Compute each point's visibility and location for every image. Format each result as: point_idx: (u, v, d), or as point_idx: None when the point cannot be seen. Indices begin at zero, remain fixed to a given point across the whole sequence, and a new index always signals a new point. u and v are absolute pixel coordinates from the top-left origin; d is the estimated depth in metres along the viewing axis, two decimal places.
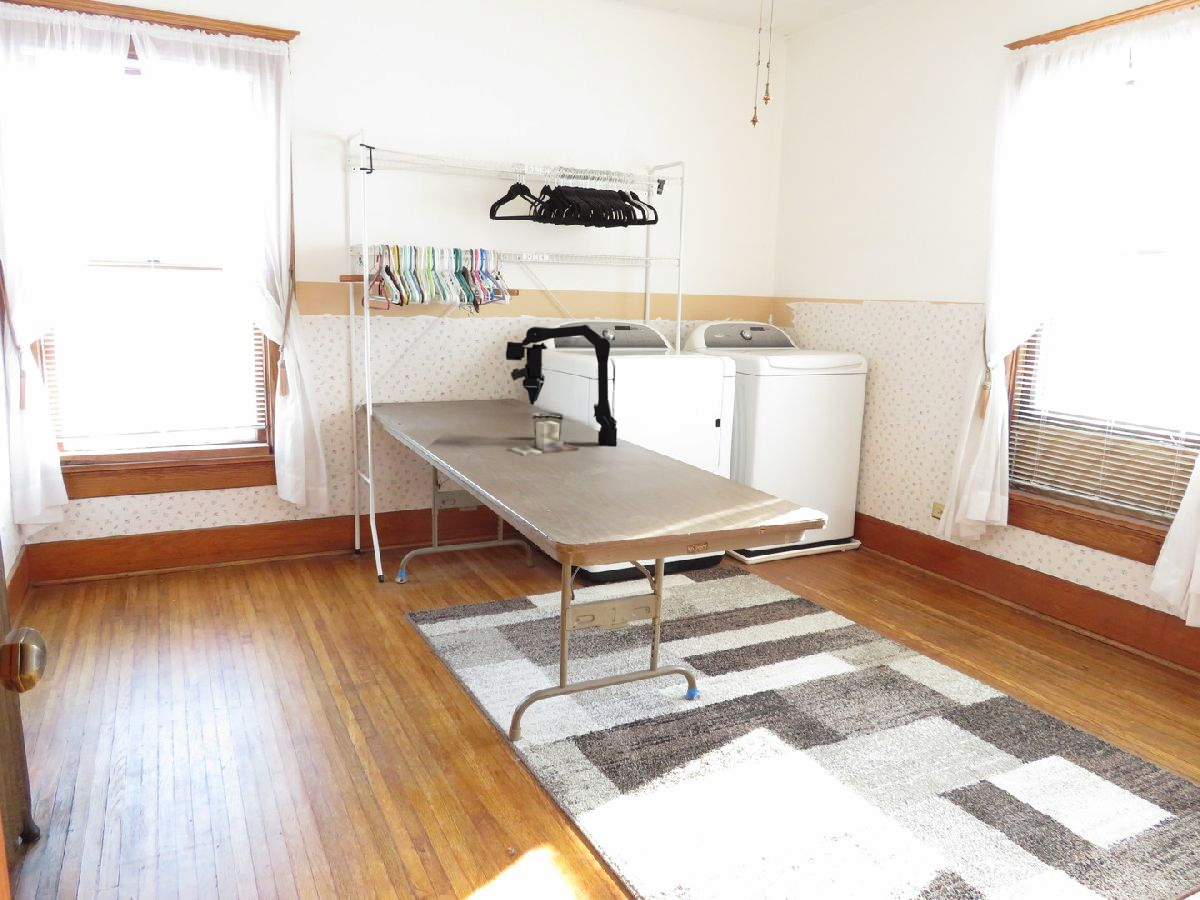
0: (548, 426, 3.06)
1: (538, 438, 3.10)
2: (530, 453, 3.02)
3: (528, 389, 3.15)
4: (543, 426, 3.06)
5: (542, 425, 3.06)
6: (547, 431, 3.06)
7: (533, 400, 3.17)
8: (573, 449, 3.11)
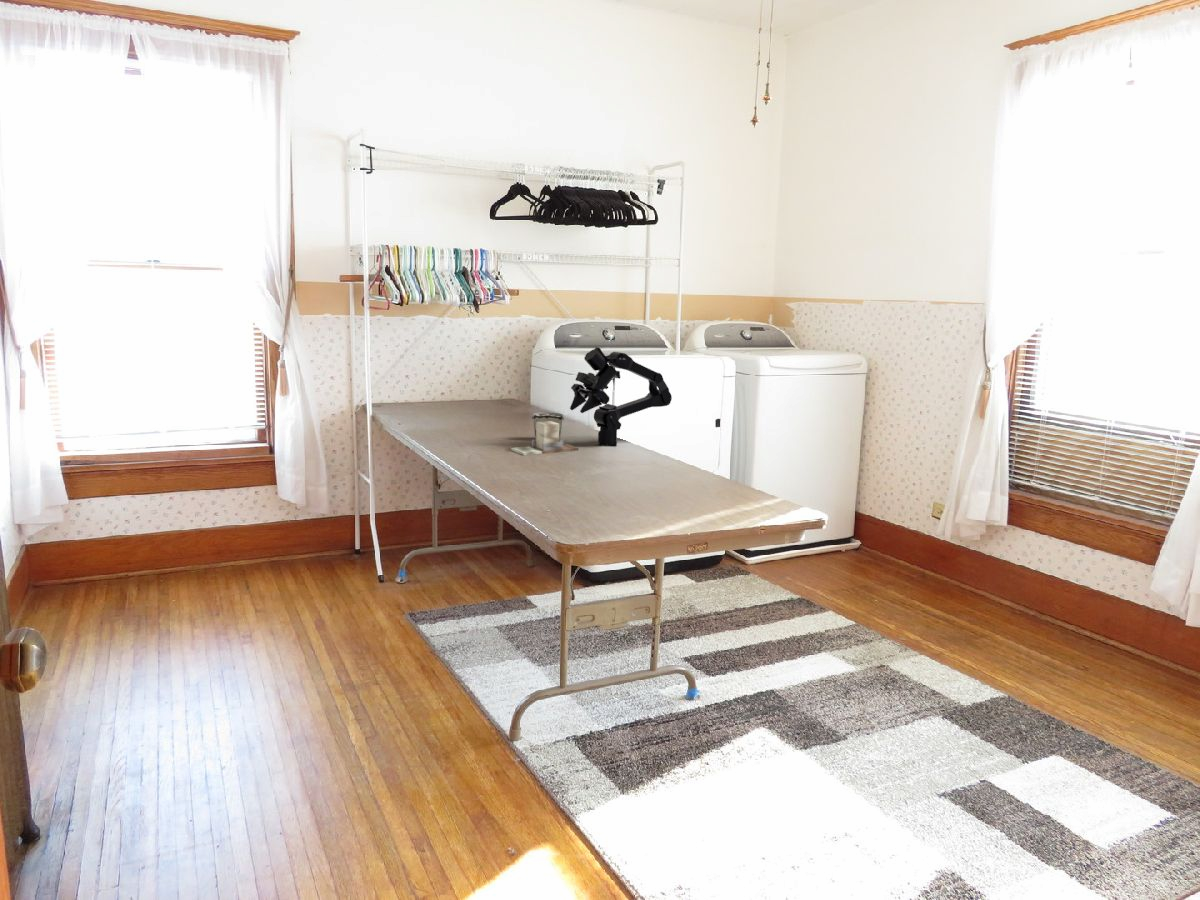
0: (548, 426, 3.06)
1: (538, 438, 3.10)
2: (530, 453, 3.02)
3: (591, 398, 3.11)
4: (543, 426, 3.06)
5: (542, 425, 3.06)
6: (547, 431, 3.06)
7: (585, 410, 3.12)
8: (573, 449, 3.11)
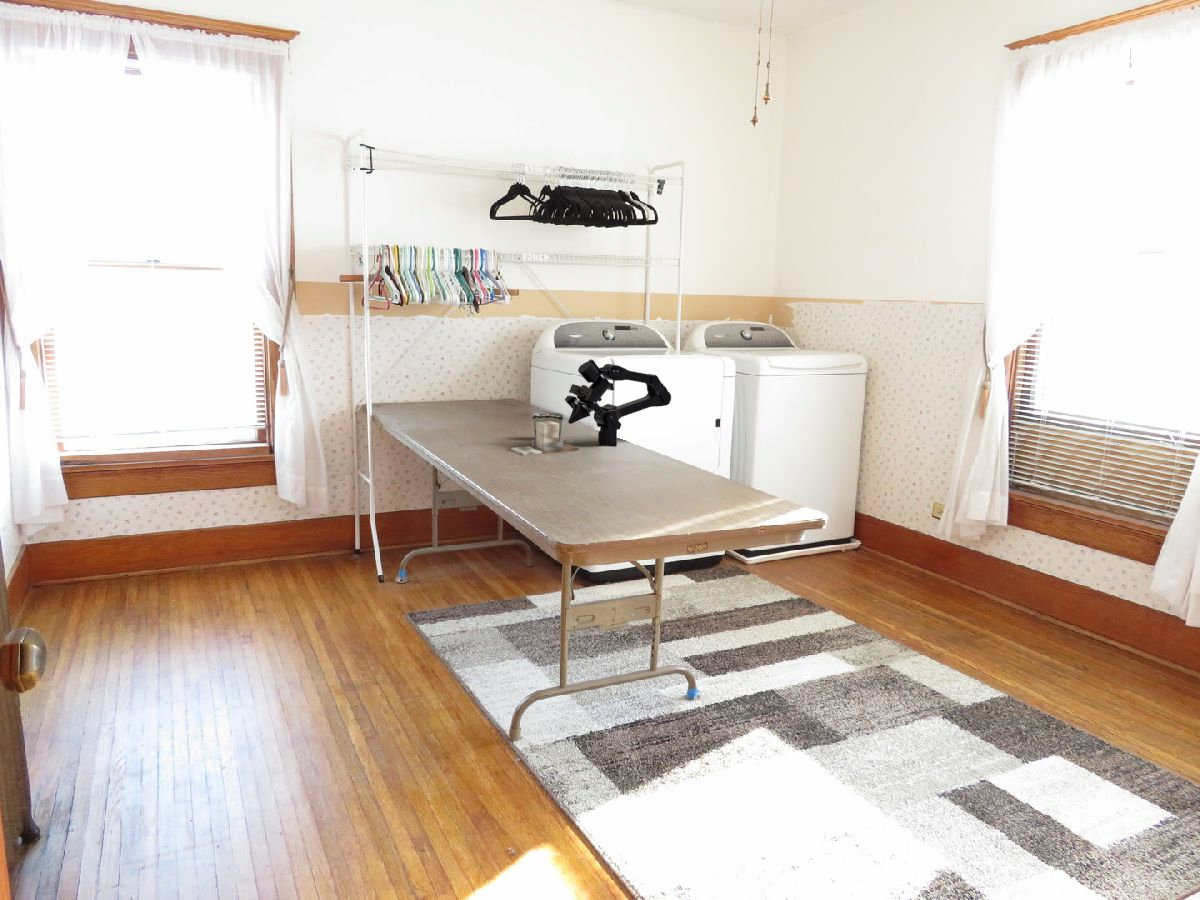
0: (548, 426, 3.06)
1: (538, 438, 3.10)
2: (530, 453, 3.02)
3: (580, 409, 3.13)
4: (543, 426, 3.06)
5: (542, 425, 3.06)
6: (547, 431, 3.06)
7: (574, 421, 3.14)
8: (573, 449, 3.11)
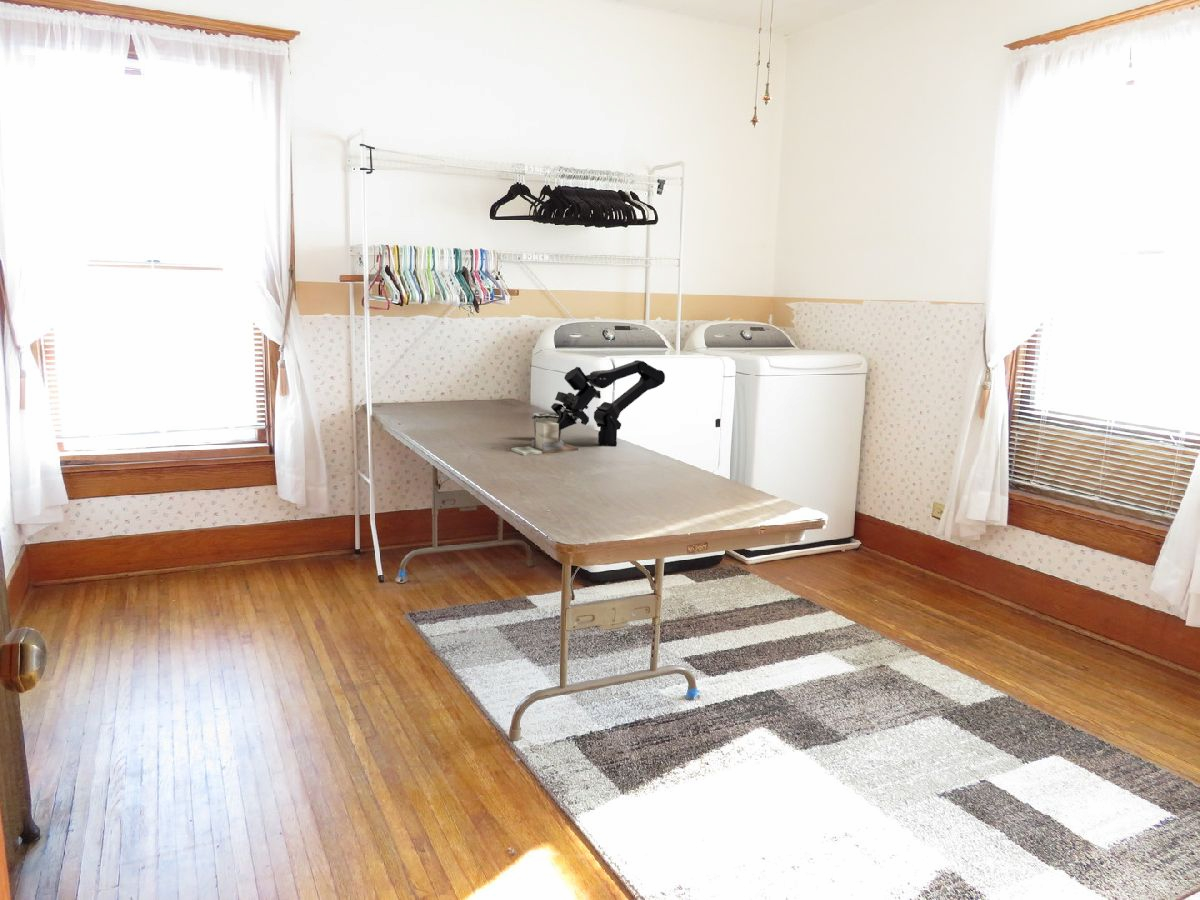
0: (547, 426, 3.06)
1: (537, 438, 3.09)
2: (530, 453, 3.02)
3: (566, 417, 3.10)
4: (542, 426, 3.06)
5: (541, 425, 3.06)
6: (546, 431, 3.06)
7: (560, 428, 3.11)
8: (573, 449, 3.11)
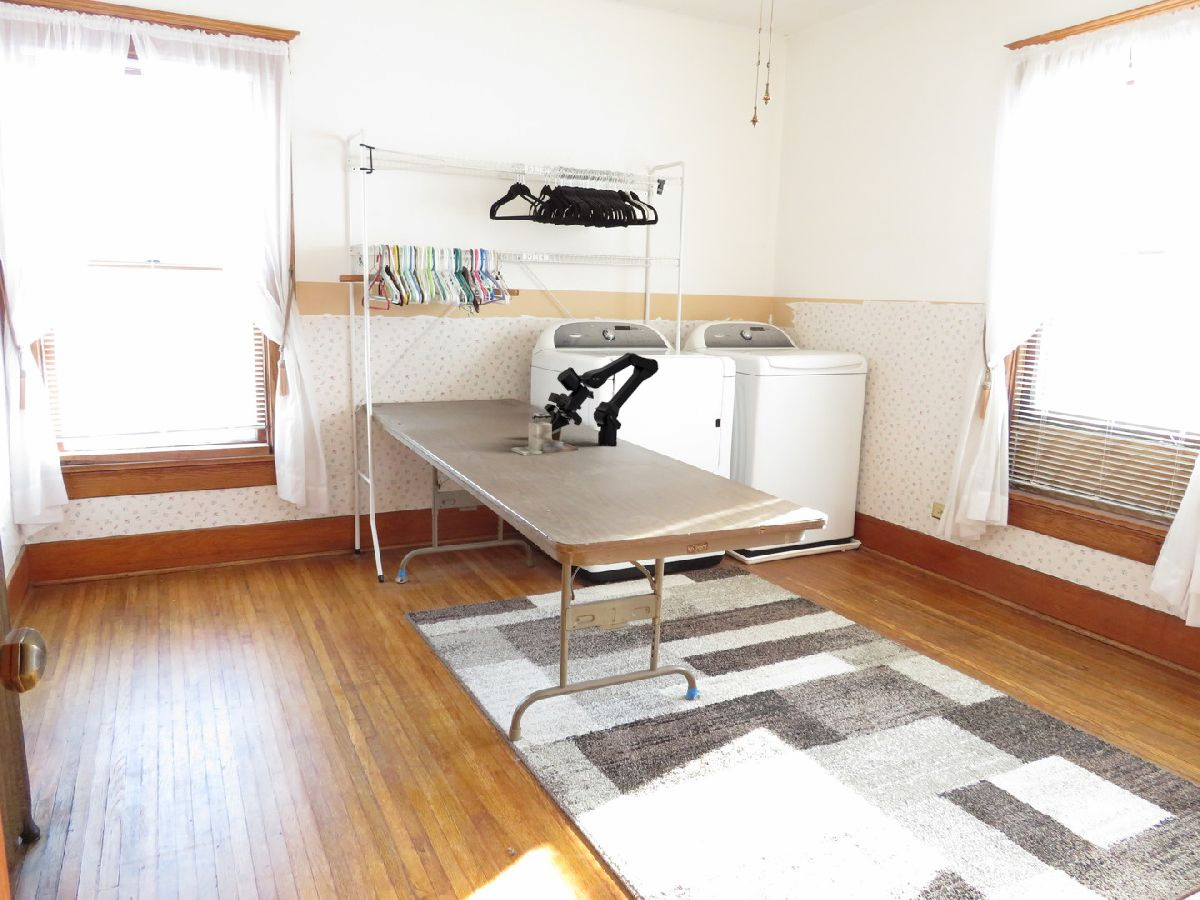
0: (540, 427, 3.04)
1: (530, 439, 3.08)
2: (530, 453, 3.02)
3: (559, 418, 3.09)
4: (535, 427, 3.04)
5: (534, 426, 3.05)
6: (539, 432, 3.04)
7: (553, 429, 3.10)
8: (573, 449, 3.11)
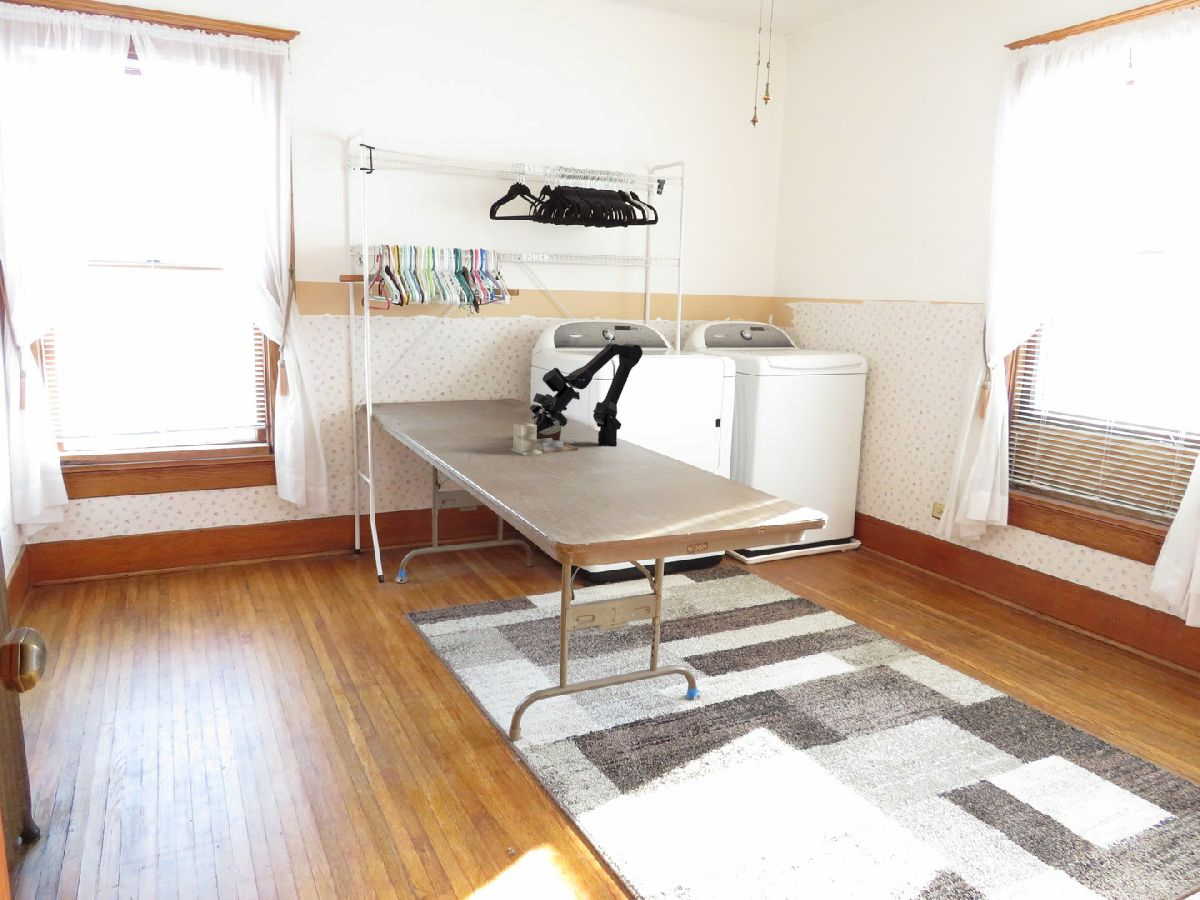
0: (525, 428, 3.01)
1: (515, 440, 3.05)
2: (530, 453, 3.02)
3: (544, 419, 3.06)
4: (520, 428, 3.01)
5: (519, 427, 3.01)
6: (524, 433, 3.01)
7: (538, 430, 3.06)
8: (573, 449, 3.11)
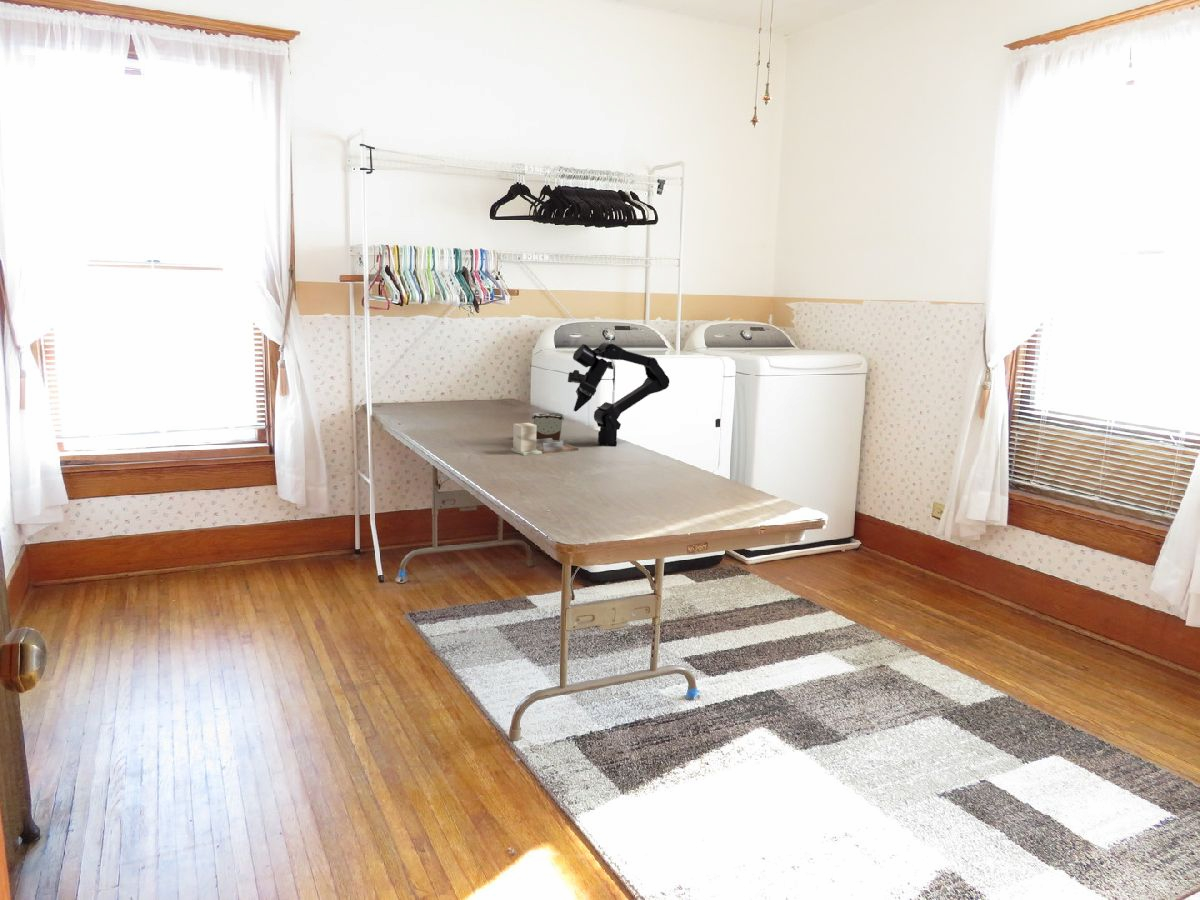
0: (525, 428, 3.01)
1: (515, 440, 3.05)
2: (530, 453, 3.02)
3: (579, 394, 3.14)
4: (520, 428, 3.01)
5: (519, 427, 3.01)
6: (524, 433, 3.01)
7: (578, 407, 3.15)
8: (573, 449, 3.11)
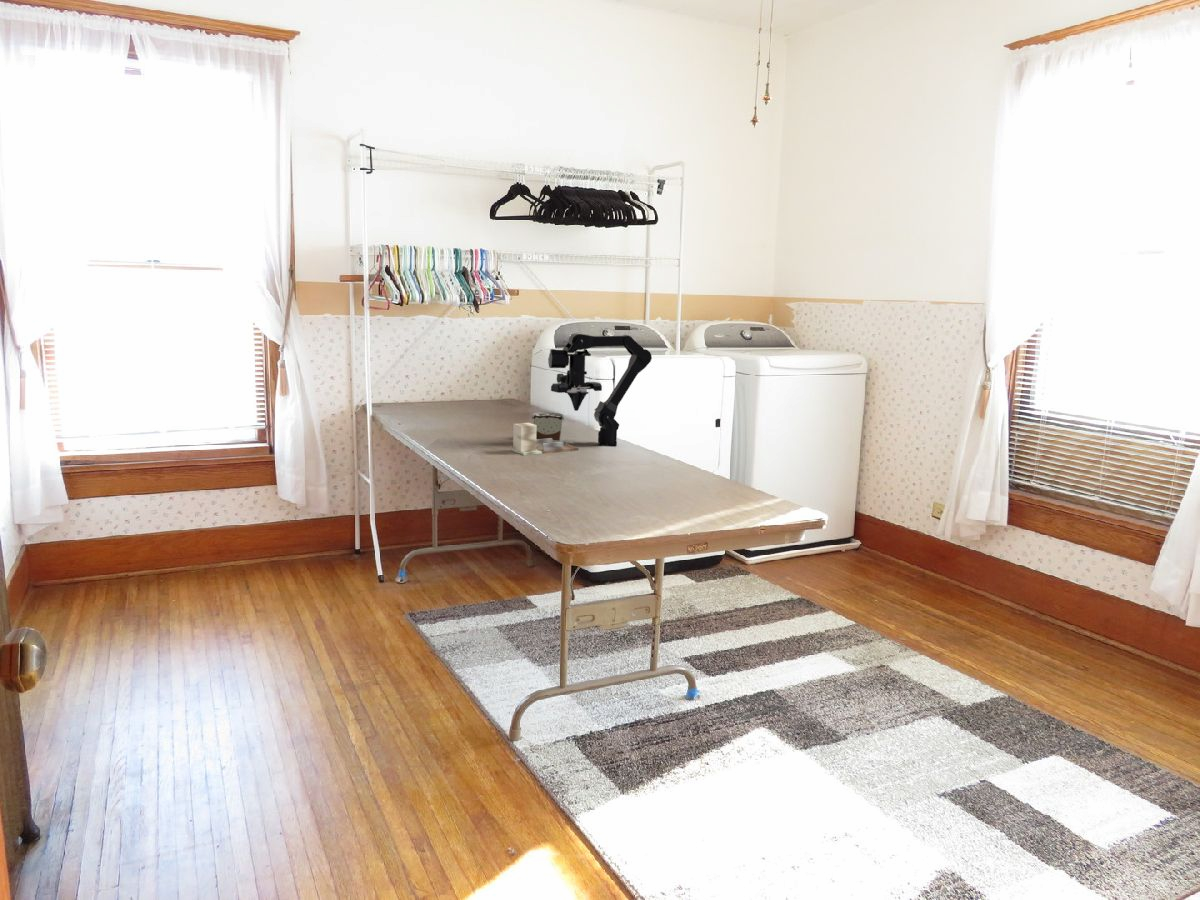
0: (525, 428, 3.01)
1: (515, 440, 3.05)
2: (530, 453, 3.02)
3: (569, 394, 3.17)
4: (520, 428, 3.01)
5: (519, 427, 3.01)
6: (524, 433, 3.01)
7: (574, 406, 3.17)
8: (573, 449, 3.11)
